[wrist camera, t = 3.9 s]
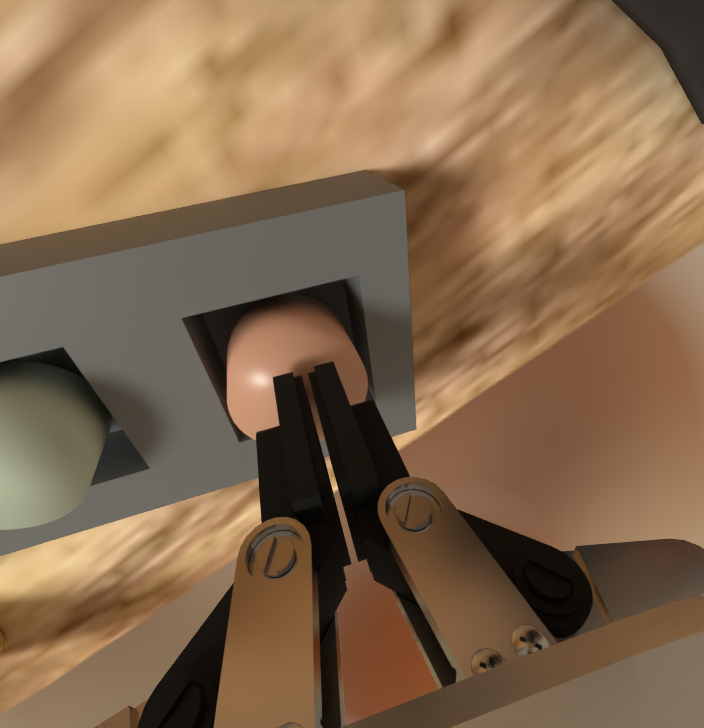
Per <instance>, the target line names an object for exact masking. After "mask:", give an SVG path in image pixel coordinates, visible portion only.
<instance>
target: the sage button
mask: <svg viewBox="0 0 704 728" xmlns="http://www.w3.org/2000/svg"><path fill="white" fill-rule="evenodd" d="M111 423H112V415H111V413H110V412H109V410H108V409H107V407H106V406H105V405H104V403H103V402H102V400H101V399H100V398H99V396H98V395H97V393H96V392H95V391H94V389H93V388H92V386H91V385H90V384H89V382H88V381H87V380H85V379H83V378H82V377H80V376H78V375H76V374H74V373H72V372H70V371H67V370H65V369H62V368H59V367H56V366H52V365H48V364H43V363H38V362H28V361H10V362H1V363H0V530H11V529H22V528H29V527H34V526H38V525H42V524H46V523H49V522H52V521H55V520H57V519H59V518H61V517H63V516H65V515H67V514H69V513H70V512H72V511H73V510H74V509H75V508H77V507H78V506H79V505H80V504H81V503H82V501H83V500H84V498H85V497H86V495H87V492H88V490H89V487H90V484H91V481H92V479H93V476H94V473H95V470H96V467H97V464H98V462H99V459H100V456H101V453H102V450H103V447H104V445H105V442H106V439H107V436H108V433H109V430H110V428H111Z"/></svg>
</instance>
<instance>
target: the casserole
mask: <svg viewBox="0 0 704 728" xmlns="http://www.w3.org/2000/svg"><path fill="white" fill-rule="evenodd" d="M612 1H613V2H614V3H615V4H616V5H617V6H618V7H619V8H620V9H621V10H622V11H623V12H624V13H625V14H626V15H627V16H629V17H630V18H631V19H632V20H633V21H634V22H635V23H636V24H637V25H638V26H639V27H640V28H641V29H642V30H643V31H644V32H645V33H646V34H647V35H648V36H649V37H650V38H651V39H652V40H653V41H654V42H655V43H656V44H657V45H658V46H659V47H660V48H661V50H662V51H663V53H664V55H665V57H666V59H667V61H668V62H669V64H670V66H671V68H672V70H673V72H674V73H675V75H676V77H677V79H678V81H679V83H680V84H681V86H682V88H683V90H684V92H685V94H686V95H687V97H688V99H689V101H690V103H691V105H692V106H693V108H694V110H695V112H696V114H697V116H698V117H699V119H700V121H701V123H702V124H704V0H612Z"/></svg>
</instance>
